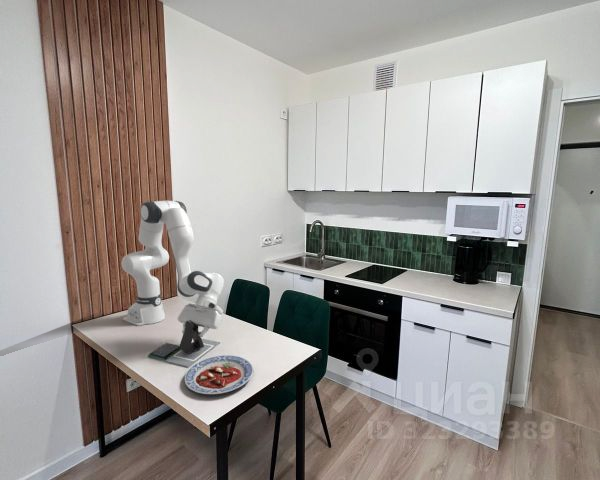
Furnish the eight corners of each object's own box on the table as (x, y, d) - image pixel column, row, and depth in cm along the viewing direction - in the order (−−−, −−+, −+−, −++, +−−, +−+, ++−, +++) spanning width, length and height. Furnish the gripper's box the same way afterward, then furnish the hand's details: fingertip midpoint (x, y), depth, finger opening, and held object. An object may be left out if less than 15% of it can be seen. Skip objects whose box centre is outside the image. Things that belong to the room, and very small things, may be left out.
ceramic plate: (220, 408, 111) (220, 400, 110) (170, 384, 124) (169, 377, 123) (266, 371, 132) (266, 364, 132) (219, 354, 145) (219, 348, 145)
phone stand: (185, 353, 142) (185, 328, 139) (178, 348, 146) (178, 323, 143) (204, 347, 148) (204, 322, 146) (197, 341, 152) (197, 317, 150)
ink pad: (148, 356, 143) (147, 353, 143) (166, 345, 153) (166, 342, 153) (164, 360, 140) (164, 357, 139) (182, 348, 150) (182, 345, 150)
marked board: (165, 361, 139) (165, 360, 139) (199, 339, 159) (198, 337, 159) (188, 367, 135) (188, 366, 134) (219, 343, 155) (219, 341, 155)
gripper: (183, 300, 153) (169, 328, 146) (220, 306, 146) (207, 336, 139) (190, 306, 158) (177, 333, 151) (226, 311, 151) (214, 341, 144)
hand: (192, 334), depth 145 cm, fingers open, 7 cm apart
